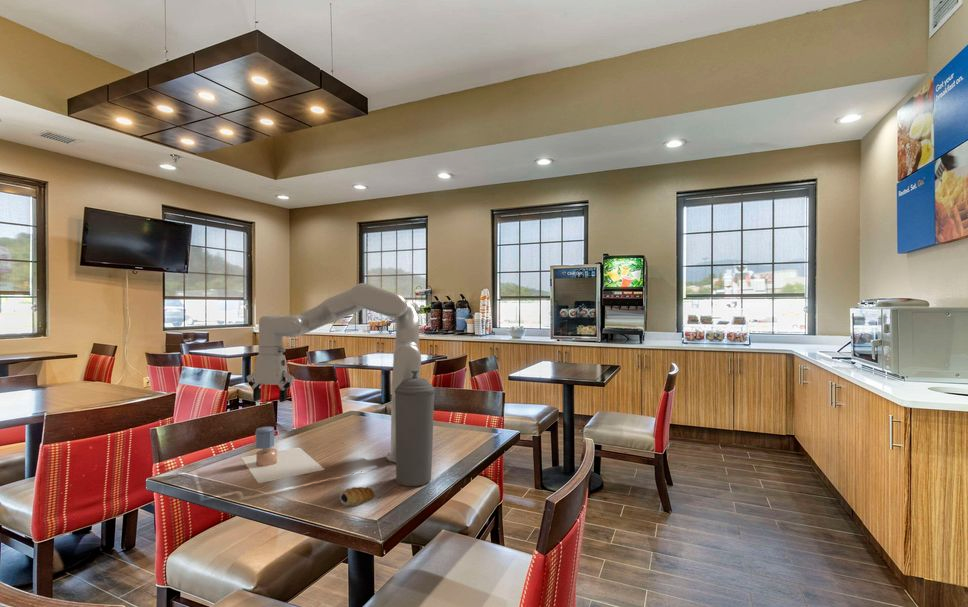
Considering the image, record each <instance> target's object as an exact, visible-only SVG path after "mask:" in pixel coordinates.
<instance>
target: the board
mask: <svg viewBox="0 0 968 607" xmlns="http://www.w3.org/2000/svg"><path fill="white" fill-rule="evenodd" d="M240 458H241V460H242V462H243V463H244V464H245V467H246V468H247V469H248V470H249V472H250V474H251V475H252V476H253V478H254V480H256V482H257V483H258V484H262V483H266V482H272V481H276V480H281V479H286V478H292V477H295V476H301V475H305V474H311V473H315V472H316V473H317V472H320V471H325V470H326V468H324V467H323V466H322V465H321V464H319V462H318V461H315V460H314V459H313V458H312V457H311V456H310V455H309V454H308V453H306V451H304V450H303V449H302V448H300V447H294V448H288V449H287V448H286V449H282V450H277V463H276V464H274V465H270V466H257V465H256V454H254V455H253V454H252V455H248V456H247V455H246V456H242V457H240Z"/></svg>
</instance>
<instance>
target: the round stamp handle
mask: <svg viewBox="0 0 968 607" xmlns="http://www.w3.org/2000/svg"><path fill="white" fill-rule="evenodd" d="M277 451H278V450H277V449H276V448H272V447H270V448H265V449H260V450H257V452H256V453H255V455H256V465H257V466H270V465H274V464H276V463H277Z"/></svg>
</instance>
